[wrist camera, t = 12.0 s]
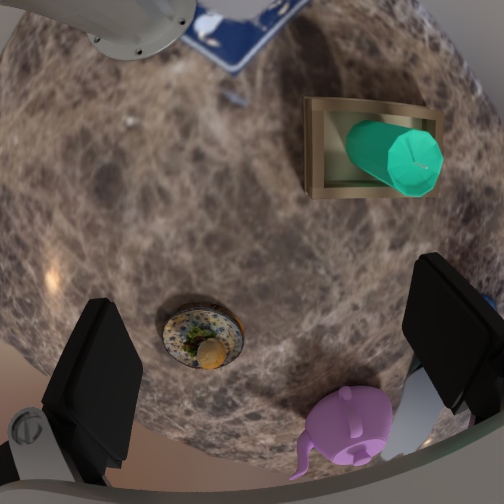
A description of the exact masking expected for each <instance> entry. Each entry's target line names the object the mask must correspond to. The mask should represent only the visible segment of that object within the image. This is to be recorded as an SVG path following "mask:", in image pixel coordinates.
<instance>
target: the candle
mask: <svg viewBox="0 0 504 504" xmlns="http://www.w3.org/2000/svg"><path fill="white" fill-rule="evenodd" d="M346 152H347V154H348V156H349V158H350V161H351V162H352V163H353V164H355V165H356V166H358V167H359V168H360V169H362V170H364V171H365V172H367V173H369V174H371V175H372V176H374V177H376V178H377V179H379V180H381V181H382V182H384V183H386V184H387V185H389V186H391V187H392V188H394V189H396V190H397V191H399V192H400V193H402V194H404V195H405V196H415V197H421V196H422V195H424V194H426V193H427V192H429V191H430V190H432V189H433V187H434V185H435V183H436V181H437V178H438V176H439V173H440V170H441V166H442V162H443V156H442V154H441V151H440V149H439V146H438V144H437V142H436V141H435V139H434V138H433V137H432V136H431V135H430V134H429V133H428V132H426V131H422V130H417V129H413V128H408V127H404V126H399V125H394V124H389V123H384V122H378V121H371V120H363V121H361V122H359V123H357V124H355V125H353V127H352V128H351V130H350V132H349V133H348V135H347V136H346Z"/></svg>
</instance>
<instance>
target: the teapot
mask: <svg viewBox="0 0 504 504" xmlns="http://www.w3.org/2000/svg"><path fill="white" fill-rule="evenodd" d="M391 424H392V407H391V402H390V400H389V397H388V395H387V394H386V393H385V392H383V391H382V390H380V389H377V388H374V387H370V386H365V385H358V386H351V387H349V386H343V387H341V388H340V389H339V390H337V391H335V392H333V393H331V394H329V395H327V396H325V397H324V398H322V399H321V400H320V401H319V402H318V403H317V404H316V405H315V406H314V407H313V408H312V410H311V411H310V413H309V414H308V416H307V418H306V422H305V430H304V431H303V432H302V433H301V435H300V436H299V438H298V441H297V455H298V468H297V470H296V472H295V473H294V475H293V476H292V477H291V478H290V479H289V480H293V479H296V478H298V477H300V476H302V475H303V474H304V473H305V472H306V471H307V469H308V453H309V451H310V450H311V449H312V448H313V447H315V448H316V449H317V450H318V451H319V452H320V453H321V454H323V455H324V456H325V457H326V458H327V459H329V460H330V461H332V462H333V463H335V464H339V465H348V464H353V465H354V466H359V465H363V464H366V463H367V462H369V461H370V460H371V459H372V458H371V457H372V456H374V455H376V454H377V453H379V452H380V451H381V450H382V449H383V448H384V446H385V445H386V442H387V440H388V437H389V433H390V429H391Z"/></svg>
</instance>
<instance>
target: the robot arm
mask: <svg viewBox="0 0 504 504" xmlns="http://www.w3.org/2000/svg"><path fill="white" fill-rule="evenodd" d="M0 5H3V6H9V7H15V8H19V9H23V10H26V11H30V12H33V13H36V14H39V15H42V16H44V17H47V18H50V19H53V20H56V21H59V22H61V23H64V24H67V25H69V26H72V27H75V28H77V29H80V30H82V31H85V32H86V33H87V36H88V39H89V40H90V42H91V44H92V45H93V46H94V47H95V48H96V49H97V50H98V51H99V52H100V53H102V54H104V55H106V56H108V57H110V58H113V59H118V60H122V61H135V60H142V59H146V58H149V57H152V56H155V55H157V54H159V53H161V52H163V51H165V50H166V49H168V48H169V47H171V46H172V45H173V44H175V43H176V42H177V41H178V40H179V39H180V38H181V37H182V36H183V34H184V33H185V32H186V31H187V29H188V28H189V26H190V24H191V22H192V21H193V18H194V15H195V12H196V6H197V0H0ZM182 22H185V24H184V25H181V23H182ZM99 39H100V41H99V42H98V40H99ZM140 51H142V54H141V55H139V52H140ZM402 331H403V334H404V336H405V337H406V339H407V341H408V342H409V344H410V346H411V347H412V349H413V351H414V352H415V354H416V356H417V357H418V359H419V361H420V362H421V364H422V366H423V367H424V369H425V371H426V373H427V374H428V376H429V378H430V380H431V381H432V383H433V385H434V387H435V388H436V390H437V392H438V394H439V396H440V398H441V399H442V401H443V403H444V405H445V406H446V407H447V408H449V409H451V411H452V413H453V415H457V414H459V413H461V412H463V411H465V410H467V409H468V407H469V409H470V411H471V416H470V421H469V426H468V429H466V430H464V431H462V432H460V433H458V434H456V435H454V436H452V437H449V438H447V439H445V440H443V441H440V442H438V443H436V444H433V445H431V446H428V447H426V448H423V449H421V450H418V451H416V452H413V453H410V454H408V455H405V456H402V457H399V458H396V459H393V460H390V461H387V462H384V463H381V464H378V465H374V466H371V467H368V468H364V469H361V470H357V471H353V472H349V473H345V474H341V475H337V476H333V477H328V478H323V479H319V480H314V481H309V482H303V483H297V484H291V485H284V486H277V487H270V488H261V489H251V490H239V491H224V492H162V491H147V490H134V489H123V488H114V487H112V485H111V484H110V482H109V481H108V479H107V478H106V476H105V470H106V467H109V468H119V469H121V465H122V460H126V458H127V454H128V448H129V442H130V436H131V430H132V424H133V419H134V413H135V408H136V403H137V398H138V393H139V388H140V383H141V378H142V374H143V365H142V362H141V360H140V358H139V356H138V353H137V351H136V349H135V347H134V345H133V343H132V341H131V339H130V337H129V334H128V332H127V330H126V328H125V325H124V323H123V321H122V319H121V316H120V314H119V312H118V309H117V307H116V305H115V303H114V302H110V300H109V299H108V298H98V299H90V300H89V301H88V303H87V304H86V306H85V308H84V310H83V312H82V314H81V316H80V318H79V320H78V322H77V324H76V326H75V328H74V330H73V332H72V334H71V336H70V338H69V340H68V342H67V344H66V346H65V348H64V350H63V352H62V355H61V357H60V359H59V361H58V363H57V366H56V368H55V370H54V372H53V375H52V377H51V379H50V382H49V384H48V386H47V389H46V391H45V393H44V396H43V398H42V401H41V402H42V404H43V408H42V410H40V409H39V408H36V407H27V408H24V409H22V410H20V411H19V412H18V413H16V414H15V415H14V417H13V418H12V419H11V421H10V423H9V425H8V431H7V434H8V441H6V442H5V443H3V444H2V445H0V504H504V320H503V318H502V317H501V316H500V315H499V314H498V313H497V312H496V311H495V310H494V308H493V307H492V306H491V305H490V304H489V303H488V302H487V301H486V300H485V299H484V298H483V297H482V296H481V295H480V294H479V293H478V291H477V290H476V289H475V288H474V287H473V286H472V285H471V284H470V283H469V282H468V281H467V280H466V279H465V278H464V277H463V276H462V275H461V274H460V273H459V272H458V271H457V270H456V269H455V268H454V267H453V266H451V265H450V264H449V263H448V262H447V261H446V260H445V259H444V258H443V257H442V256H441V255H440V254H439V253H437V252H433V253H427V254H422V255H420V256H419V258H418V260H416V262H415V264H414V269H413V275H412V280H411V285H410V291H409V295H408V300H407V305H406V309H405V314H404V318H403V322H402Z"/></svg>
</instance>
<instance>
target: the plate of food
mask: <svg viewBox="0 0 504 504" xmlns="http://www.w3.org/2000/svg"><path fill="white" fill-rule="evenodd" d="M162 340H163V344H164V347H165V349H166V351H167V352H168V353H170V354H171V355H172V356H173V357H174V358H175V359H176V360H177V361H179V362H181V363H182V364H184V365H186V366H188V367H191V368H195V369H200V368H204V369H216V368H219V367H222V366H225V365H227V364H229V363H230V362H232V361H233V360H235V359H236V358H237V357H238V356H239V355H240V353H241V351H242V349H243V346H244V329H243V326H242V324H241V322H240V321H239V319H238V318H237V317H236V316H235V315H234V314H233V313H232V312H230V311H229V310H227V309H226V308H223V307H221V306H219V305H216V304H212V303H206V302H204V304H202V303H201V304H199V303H198V304H196V303H195V304H193V303H190V304H188V303H187V304H184V305H182V306H181V307H180V308H179V310H178V311H177V312H176V313H175V314H173V315H172V316H170V317H169V318H168V319H167V320H166V323H165V326H164V328H163V330H162ZM220 369H221V368H220ZM221 370H222V369H221Z"/></svg>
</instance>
